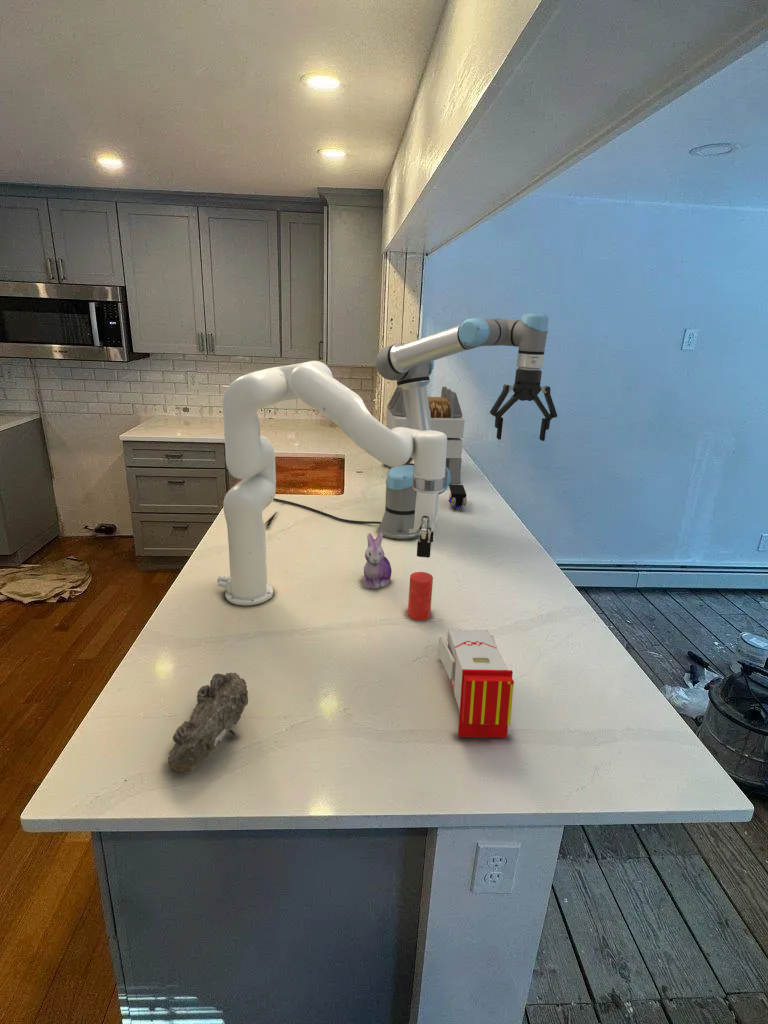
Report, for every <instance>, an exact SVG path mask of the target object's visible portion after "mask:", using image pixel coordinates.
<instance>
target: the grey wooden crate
mask: <svg viewBox="0 0 768 1024" xmlns="http://www.w3.org/2000/svg"><path fill="white" fill-rule="evenodd" d="M440 393H441V394H440V396H428V402H429V408H430V415H431V422H432V428H433V431H440V432H443V433H444V434H445V435H446V436H447V453H446V467H447V468H448V469H449V472H450V476H451V479H450V484H459V483H461V472H462V461H463V460H462V453H463V442H464V441H463V440H462V439H463V438H464V431H465V430H464V429H465V419H464V418H463V411H462V408H461V405H460V402H459V398H458V395H457V392H455V391H453V390H452V389H451V388H447V386H442V387H441V392H440ZM385 414H386V415H385V423H386V425H385V426H386V427H387V428H388V429H390V430H392V429H393V428H396V427H405V428H408V423H407V417H406V411H405V404H404V398H403V392H402V390H401V389H399V388H398V387H397V386H396V388H395V390H394V392H393V394H392V395H391V398H390V400H389V402H388V404H387V405H386V413H385ZM412 458H413V457H410V458H409V460H408V461H407V462H406V463H405V464H404V465H410V461H411V460H412ZM404 465H403V466H404ZM383 466H384V467H388V468H389V470H390V469H391V468H393V467H392V466H388V465H385V464H383Z"/></svg>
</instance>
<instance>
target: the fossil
mask: <svg viewBox="0 0 768 1024" xmlns="http://www.w3.org/2000/svg"><path fill="white" fill-rule="evenodd" d="M247 688H248V686H247V682H246V680H245V679H244V678H242V677H240V674H237V672H229V673H228V672H226V673H225V674H222V673H219V672H218V673H214V674H213V675H212V678H211V679H210V681H209V684H206V685H203V686H200V687H199V688H198V690H197V693H196V694H197V695H196V702H197V703H196V705H195V706H194V708H193V712H191V715H190V717H189V719H190V720H189V721H188V720H185V721H183V722H182V724H181V725H179V726H178V727H177V728H176V730H175V732H174V734H173V735H172V741H173V742H174V743H175V744H174V745H173V747H172V748H171V750H169V752H168V757H167V760H168V761H167V765H168V767H169V769H170V770H173V771H175V773H180V772H181V773H182V772H184V771H190V770H191V771H194V770H196V769H197V768H198V767H199V766H200V765H201V764H202V763H203V762H204V761H205V760H207V758H208V757H209V756H210V755H211V754H212V753H213V752H214V751H215V750H216V749H217V748H218V747H220V745H221V744H222V742H223V739H225V738H226V737H227V736H228V734H231V735H232V736H233V737H235V736H237V735H236V732H235V731H233V729H232V727H233V726H234V725H237V723H239V721H240V720H241V717H242V715H243V713H244V711H245V707H246V706H247V705H248V703H249V696H248V695H249V691H248V690H247Z"/></svg>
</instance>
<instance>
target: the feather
mask: <svg viewBox="0 0 768 1024" xmlns="http://www.w3.org/2000/svg"><path fill="white" fill-rule="evenodd" d="M276 514H277V512H275V513H274V514H273V515H272V516H271V517H270V518H268V520H267V521H266V522H265V523H264V526H265V525H266V529H268V528H269V527H270V525H271V523H272V521H273V519H274V518H275V516H276Z"/></svg>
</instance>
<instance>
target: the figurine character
mask: <svg viewBox="0 0 768 1024" xmlns="http://www.w3.org/2000/svg"><path fill="white" fill-rule="evenodd" d="M448 488H449V491H450V492H449V494H448V502H449V505H450V507H452V509H453V511H456V509H460V511H463V507H464V508H465V507H467V503H468V498H467V492H466V489H465V487H464V484H457V483H450V484H449V487H448Z"/></svg>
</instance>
